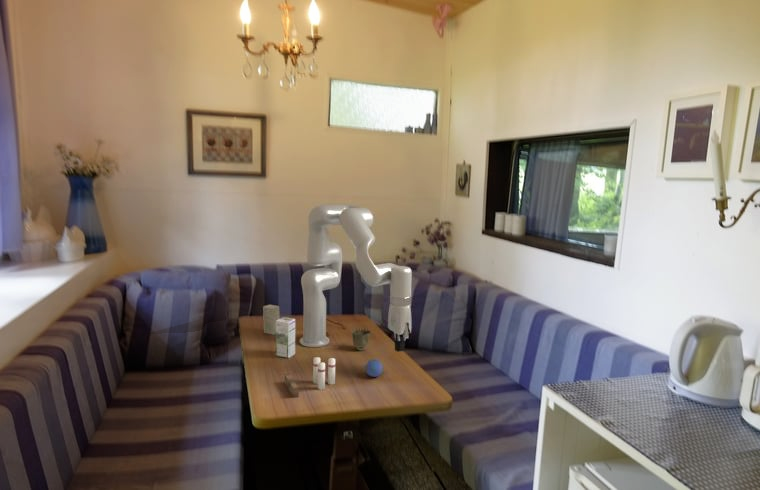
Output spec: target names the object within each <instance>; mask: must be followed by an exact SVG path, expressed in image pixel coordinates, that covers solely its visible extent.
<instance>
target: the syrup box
mask: <svg viewBox="0 0 760 490" xmlns="http://www.w3.org/2000/svg"><path fill="white" fill-rule="evenodd" d="M295 354H296V318H291V317H280V319H278V320H277V321H276V334H275V357H281V358H285V359H290V358H291V357H293V356H294V355H295Z"/></svg>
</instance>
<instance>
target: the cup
mask: <svg viewBox="0 0 760 490" xmlns="http://www.w3.org/2000/svg"><path fill="white" fill-rule="evenodd" d="M351 333H352V343H353V344H354V346H355V347H356V350H357V351H359V352H364V351H365V350H366V347H367V346H368V345H369V341H370V336H371V330H370V329H366V328H358V329H357V328H355V329H352V331H351Z"/></svg>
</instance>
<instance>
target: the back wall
mask: <svg viewBox="0 0 760 490" xmlns="http://www.w3.org/2000/svg"><path fill="white" fill-rule="evenodd" d="M284 384H285V386H286V387H287V389H288V391H289V392H290V394H291V395H292V396H293V398H299V396H300V395H299V392H300V391H299V386H298V385H297V384H296V381H295V380H294V379H293V378H292V376H291V375H290V373H284Z"/></svg>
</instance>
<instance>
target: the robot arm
mask: <svg viewBox="0 0 760 490" xmlns="http://www.w3.org/2000/svg"><path fill="white" fill-rule="evenodd" d="M307 224H308V225H307V226H308V237H307V238H308V239H307V240H308V241H307V250H306V260H307V263H308V264H309V266H311V267H316V268H313V269H309V270H306V271H305V272H303V274H302V276H301V279H300V283H301V289H302V295H303V296H302V297H303V320H302V321H303V325H302V326H303V331H302V334H303V336H302V337H300V339H299V344H300V345H301V346H304V347H309V348H319V347H324V346H327V345H328V344H330V338H329V336H328V337H327V336H326V335H327V334H326V331H327V320H326V318H327V298H326V297H325V295H324V293H323V291H324V292H325V291H326V290H327V291H328V290H331V289H335V288H337V287H338V286H339V284H340V281H341V277H342V267H343V258H344V257H343V251H342V248H341V246H340V245H339V244H338V243H336V242H333V241H330V231H329V229H328V227H329V226H331V227H332V226H334V227H335V226H341V227H342V229H343V231H344V232H345V234H346V235H347V237H348V238H349V240H350V242H351V244H352V245H353V247H354V248H355V253H354V259H355V260H354V262H355V267H356V270H357V271H358V273H359V274H360V276H361V277H362V279H363V280H364V282H365V283H366V284H367V285H368V286H370V287H380V286H383V285H390V290H389V291H390V292H389V294H390V295H389V299H390V300H389V308H388V317H387V328H388V330H390V331H392V332H393V336H394V337H393V338H394V351H396V352H398V353H399V352H405V350H406V349H405V348H406V343H405V342H406V339H410V338H409V334H411V333H412V311H411V310H412V307H411V306H412V280H413V279H412V274H413V272H412V271H413V270H412V269H411V267H409V266H405V265H398V264H395V263H392V262H387V263H386V262H385V263H380V264H374V262H373V260H372V258H371V257H370V255H369V249H370V248H371V247H372V246H373V245H374V243H375V241H376V237H375V235H374V233H373V232H372V230H371V229H370V228H371V227H372V225H373V224H374V216H373V213H372V211H371V210H369V209H368V208H367V207H364V206H363V207H362V206H357V205H351V204H339V203H337V204H321V205H317V206H314V207H313V208H311V210H310V211H309V212H308V217H307ZM323 266H324V267H323Z"/></svg>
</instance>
